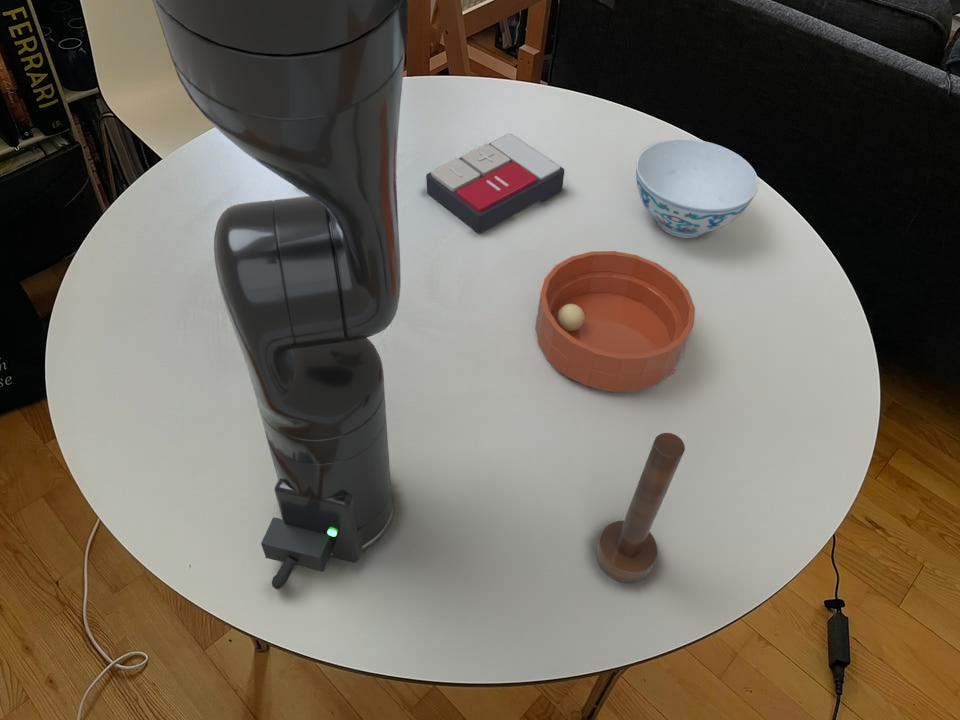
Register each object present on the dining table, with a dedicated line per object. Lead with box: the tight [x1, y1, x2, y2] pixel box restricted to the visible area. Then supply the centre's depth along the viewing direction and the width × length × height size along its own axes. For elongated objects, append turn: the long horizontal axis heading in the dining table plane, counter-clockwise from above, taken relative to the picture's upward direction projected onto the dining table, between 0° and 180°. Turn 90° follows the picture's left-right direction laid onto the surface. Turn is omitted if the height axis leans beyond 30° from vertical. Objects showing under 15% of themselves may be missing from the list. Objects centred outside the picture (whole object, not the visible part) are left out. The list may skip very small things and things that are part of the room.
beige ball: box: [557, 304, 585, 331], centre depth 83 cm, size 3×3×3 cm
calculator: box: [425, 133, 565, 234], centre depth 100 cm, size 11×4×15 cm
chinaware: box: [635, 138, 760, 239], centre depth 97 cm, size 15×15×8 cm
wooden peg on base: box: [595, 432, 686, 584], centre depth 61 cm, size 5×5×17 cm
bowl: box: [535, 250, 696, 393], centre depth 82 cm, size 16×16×6 cm
